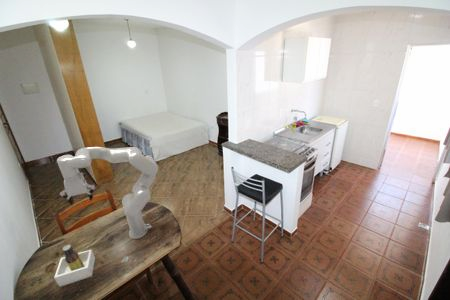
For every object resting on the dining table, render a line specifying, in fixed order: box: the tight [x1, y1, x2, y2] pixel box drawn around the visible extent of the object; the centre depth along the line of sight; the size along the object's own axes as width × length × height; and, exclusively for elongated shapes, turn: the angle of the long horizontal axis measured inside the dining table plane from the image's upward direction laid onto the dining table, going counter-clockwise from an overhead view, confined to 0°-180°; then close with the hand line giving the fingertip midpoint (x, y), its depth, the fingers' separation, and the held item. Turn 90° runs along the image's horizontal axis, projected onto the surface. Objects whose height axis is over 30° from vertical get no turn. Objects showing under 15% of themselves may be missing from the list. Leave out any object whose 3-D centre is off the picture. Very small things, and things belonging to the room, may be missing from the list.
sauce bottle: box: [62, 244, 84, 271], centre depth 123 cm, size 7×6×20 cm
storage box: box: [53, 249, 96, 288], centre depth 126 cm, size 16×13×8 cm
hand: (82, 201), depth 126 cm, fingers open, 9 cm apart
